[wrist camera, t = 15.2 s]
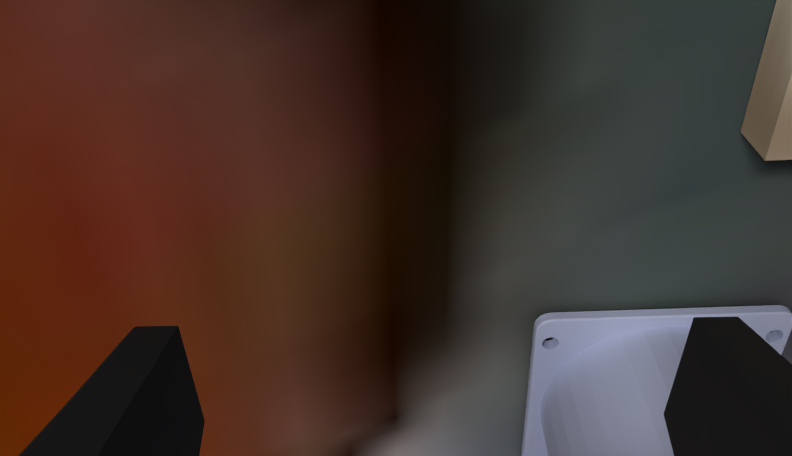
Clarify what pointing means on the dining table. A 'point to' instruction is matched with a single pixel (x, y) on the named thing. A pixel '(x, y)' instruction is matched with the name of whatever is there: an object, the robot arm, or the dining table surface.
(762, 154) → the board
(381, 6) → the dining table surface
